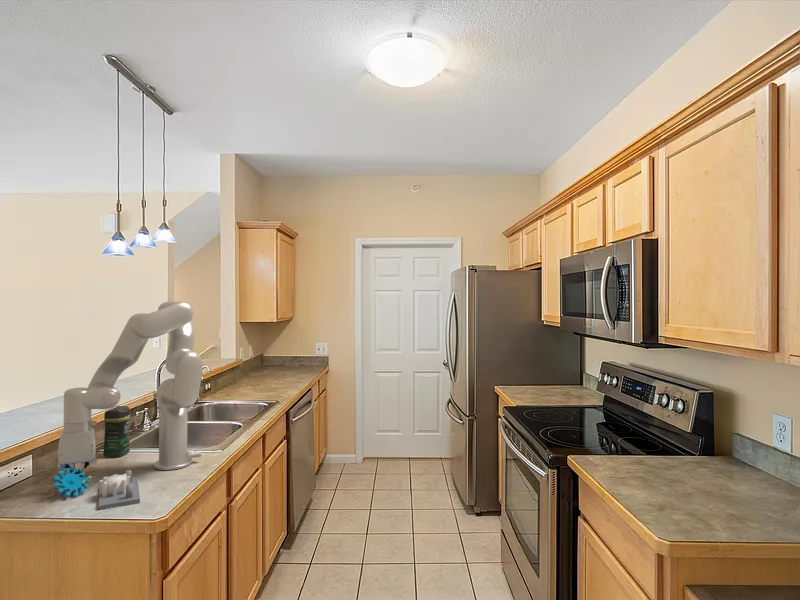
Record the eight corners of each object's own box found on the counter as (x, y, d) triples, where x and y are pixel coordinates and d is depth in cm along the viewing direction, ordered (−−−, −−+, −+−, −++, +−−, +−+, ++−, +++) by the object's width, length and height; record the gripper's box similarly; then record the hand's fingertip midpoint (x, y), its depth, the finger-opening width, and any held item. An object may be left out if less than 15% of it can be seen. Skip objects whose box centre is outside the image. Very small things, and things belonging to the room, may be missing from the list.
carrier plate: (137, 481, 165) (137, 465, 165) (139, 502, 148) (139, 485, 148) (100, 487, 160) (100, 470, 160) (98, 510, 142) (98, 492, 142)
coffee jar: (122, 458, 188) (122, 409, 188) (100, 458, 188) (100, 410, 188) (133, 450, 198) (133, 404, 198) (112, 450, 197) (112, 404, 197)
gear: (60, 497, 147) (51, 469, 151) (50, 509, 148) (41, 480, 153) (97, 490, 156) (88, 463, 161) (88, 501, 158) (79, 474, 162)
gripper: (105, 421, 166) (104, 476, 166) (50, 426, 159) (50, 483, 159) (104, 426, 159) (103, 483, 159) (47, 432, 152) (47, 492, 152)
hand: (77, 483), depth 159 cm, fingers closed
